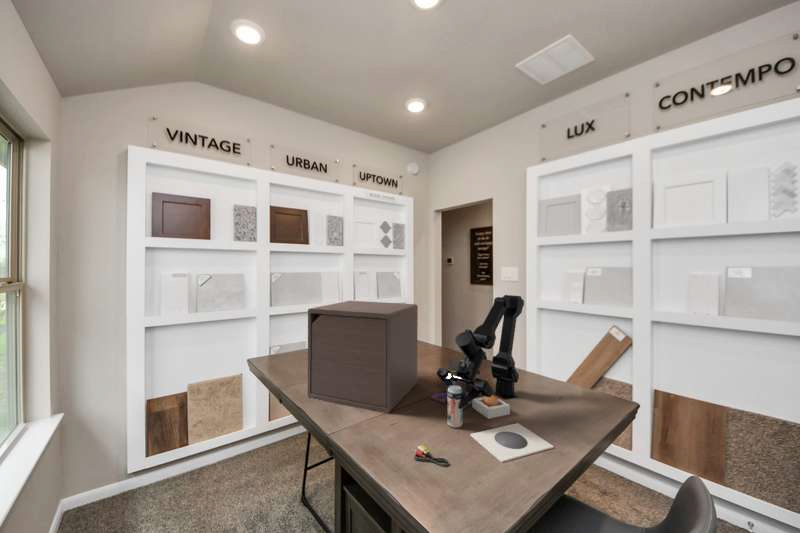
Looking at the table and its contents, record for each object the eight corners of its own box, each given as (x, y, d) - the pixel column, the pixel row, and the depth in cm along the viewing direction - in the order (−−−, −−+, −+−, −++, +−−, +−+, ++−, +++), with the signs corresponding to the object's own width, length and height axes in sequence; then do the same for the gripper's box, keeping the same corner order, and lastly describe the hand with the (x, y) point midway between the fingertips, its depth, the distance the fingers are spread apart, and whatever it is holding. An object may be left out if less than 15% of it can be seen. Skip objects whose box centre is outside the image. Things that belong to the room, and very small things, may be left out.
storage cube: (307, 397, 121) (307, 307, 121) (347, 373, 148) (347, 300, 148) (389, 414, 108) (390, 313, 108) (417, 384, 135) (417, 304, 135)
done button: (492, 399, 114) (492, 394, 114) (501, 405, 110) (501, 399, 110) (480, 401, 112) (480, 396, 112) (489, 407, 108) (489, 401, 108)
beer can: (445, 421, 103) (445, 384, 103) (460, 421, 104) (460, 384, 104) (449, 429, 98) (449, 390, 98) (464, 428, 99) (464, 390, 99)
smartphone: (439, 394, 127) (439, 391, 127) (473, 404, 117) (473, 401, 117) (428, 399, 121) (428, 397, 121) (462, 411, 111) (462, 408, 111)
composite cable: (450, 464, 81) (450, 455, 81) (440, 474, 78) (440, 464, 78) (419, 450, 88) (419, 441, 88) (408, 458, 84) (408, 449, 84)
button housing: (492, 403, 117) (492, 395, 117) (509, 414, 109) (509, 405, 109) (472, 407, 114) (472, 399, 114) (488, 418, 105) (488, 409, 105)
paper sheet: (517, 424, 102) (517, 422, 102) (553, 447, 89) (553, 445, 89) (470, 435, 95) (470, 433, 95) (501, 462, 82) (501, 460, 82)
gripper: (439, 344, 110) (418, 384, 103) (488, 355, 97) (467, 402, 89) (453, 362, 116) (433, 401, 108) (500, 374, 103) (482, 420, 95)
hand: (452, 405), depth 100 cm, fingers closed on beer can, 5 cm apart
